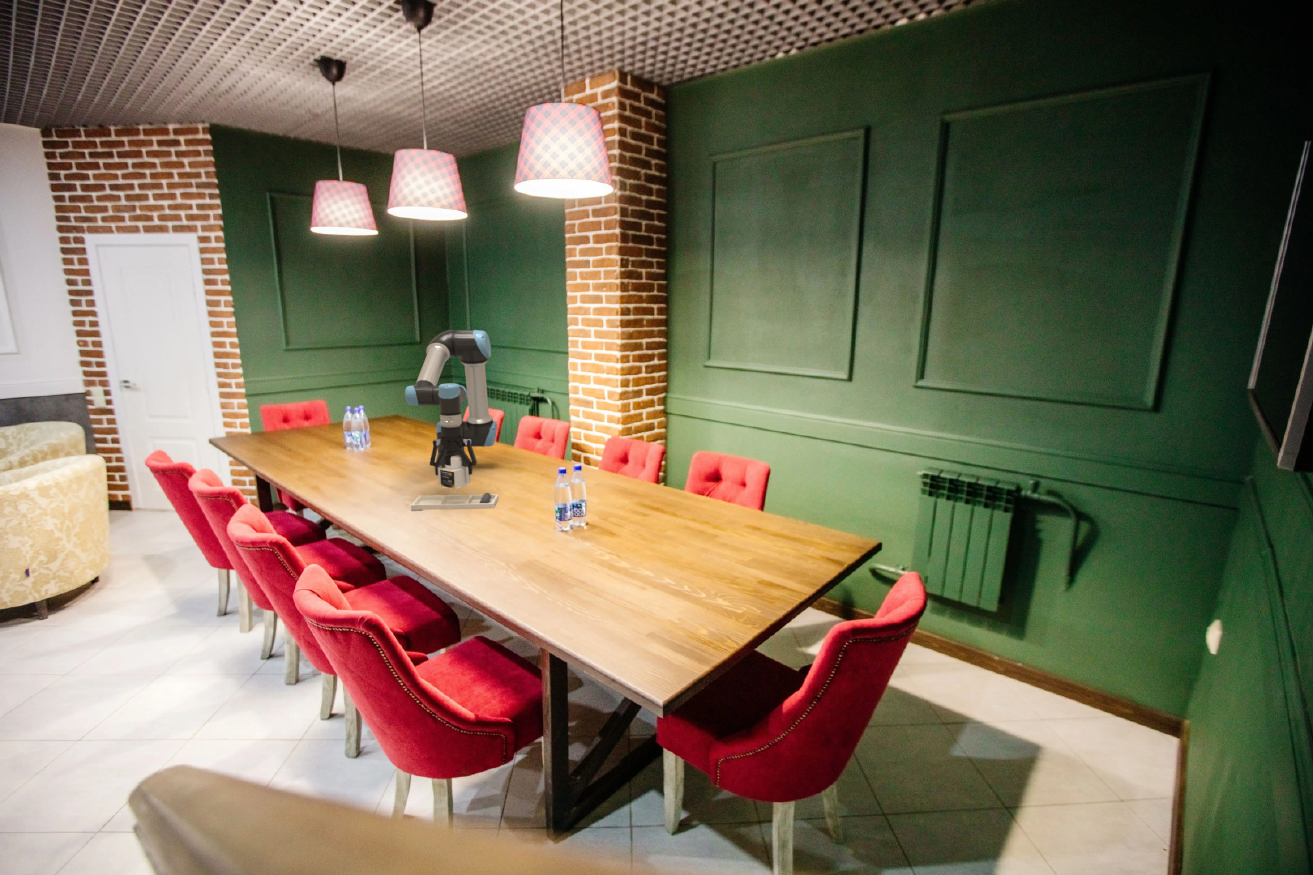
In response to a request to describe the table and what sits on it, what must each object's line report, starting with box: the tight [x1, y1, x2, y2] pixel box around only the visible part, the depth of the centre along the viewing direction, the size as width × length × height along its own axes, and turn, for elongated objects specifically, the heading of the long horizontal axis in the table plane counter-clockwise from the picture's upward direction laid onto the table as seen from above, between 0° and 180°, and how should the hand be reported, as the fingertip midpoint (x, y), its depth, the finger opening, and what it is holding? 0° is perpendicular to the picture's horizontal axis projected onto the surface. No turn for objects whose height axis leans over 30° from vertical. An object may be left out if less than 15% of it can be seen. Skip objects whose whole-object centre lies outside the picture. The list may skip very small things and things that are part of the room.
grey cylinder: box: [480, 492, 492, 503], centre depth 243 cm, size 8×3×3 cm
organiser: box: [410, 494, 499, 512], centre depth 242 cm, size 12×30×2 cm, turn 95°
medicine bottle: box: [440, 454, 469, 490], centre depth 239 cm, size 7×7×12 cm
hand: (454, 483), depth 241 cm, fingers closed on medicine bottle, 10 cm apart
